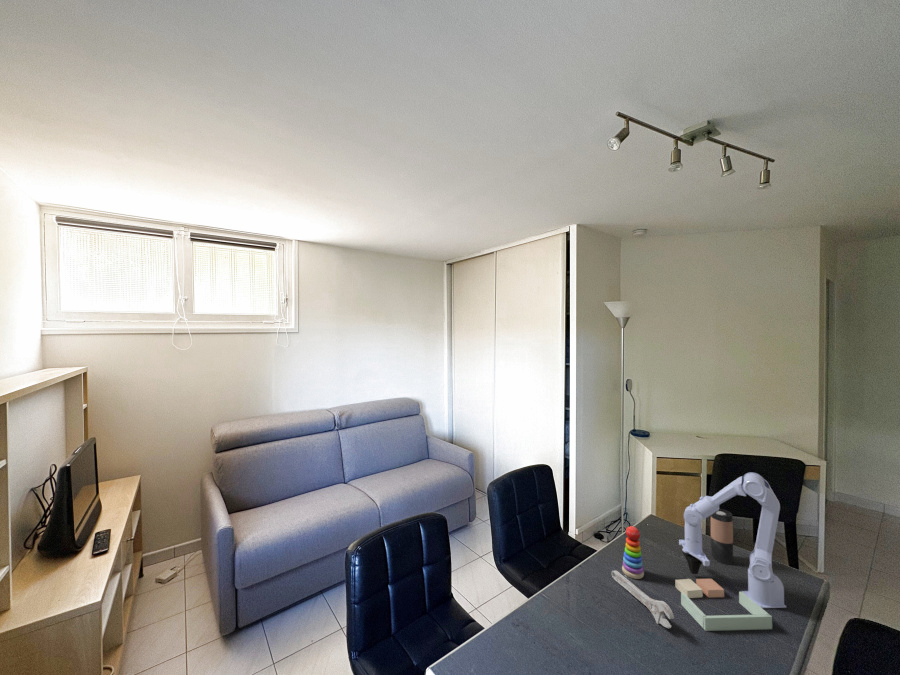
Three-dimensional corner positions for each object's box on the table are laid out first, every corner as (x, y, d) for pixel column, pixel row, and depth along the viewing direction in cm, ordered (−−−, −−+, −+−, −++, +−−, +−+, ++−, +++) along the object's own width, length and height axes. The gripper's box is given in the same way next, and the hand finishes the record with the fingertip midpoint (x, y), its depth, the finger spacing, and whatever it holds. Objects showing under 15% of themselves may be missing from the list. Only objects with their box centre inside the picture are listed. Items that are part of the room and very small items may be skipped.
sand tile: (690, 586, 134) (689, 578, 134) (702, 598, 128) (702, 589, 128) (675, 587, 134) (675, 579, 134) (687, 599, 128) (687, 590, 128)
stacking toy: (617, 570, 144) (616, 524, 144) (631, 565, 147) (630, 519, 147) (634, 582, 136) (634, 533, 137) (648, 576, 140) (648, 528, 140)
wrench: (616, 584, 140) (676, 636, 111) (612, 584, 140) (671, 637, 110) (614, 562, 141) (673, 608, 112) (610, 562, 141) (668, 609, 111)
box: (742, 602, 125) (741, 591, 125) (772, 629, 114) (772, 616, 114) (681, 604, 125) (680, 592, 125) (705, 630, 113) (705, 618, 113)
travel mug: (738, 564, 147) (737, 516, 147) (719, 564, 147) (718, 516, 147) (724, 553, 154) (723, 507, 155) (706, 553, 154) (705, 507, 155)
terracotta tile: (711, 586, 134) (711, 578, 134) (724, 598, 128) (724, 589, 128) (696, 586, 134) (696, 578, 134) (708, 598, 128) (708, 590, 128)
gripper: (671, 529, 147) (672, 561, 147) (696, 549, 132) (697, 585, 132) (688, 528, 147) (688, 561, 147) (715, 549, 133) (715, 585, 132)
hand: (693, 573), depth 140 cm, fingers closed
